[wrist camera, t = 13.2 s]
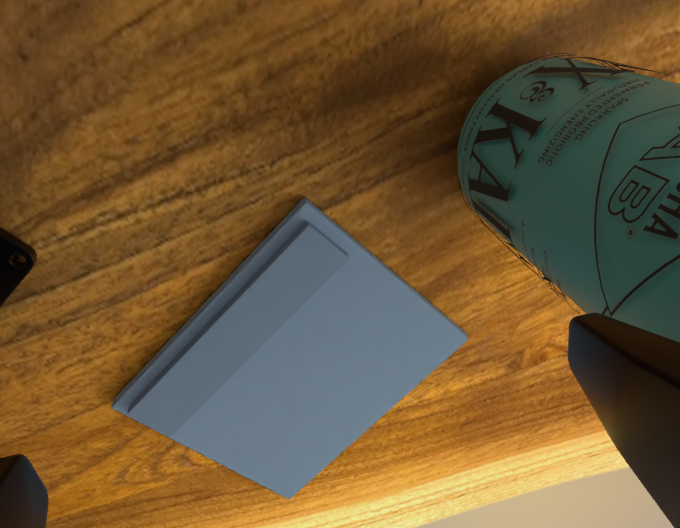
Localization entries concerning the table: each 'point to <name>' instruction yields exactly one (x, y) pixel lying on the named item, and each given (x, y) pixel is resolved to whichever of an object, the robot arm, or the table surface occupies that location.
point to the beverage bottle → (584, 183)
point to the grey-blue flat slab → (292, 356)
